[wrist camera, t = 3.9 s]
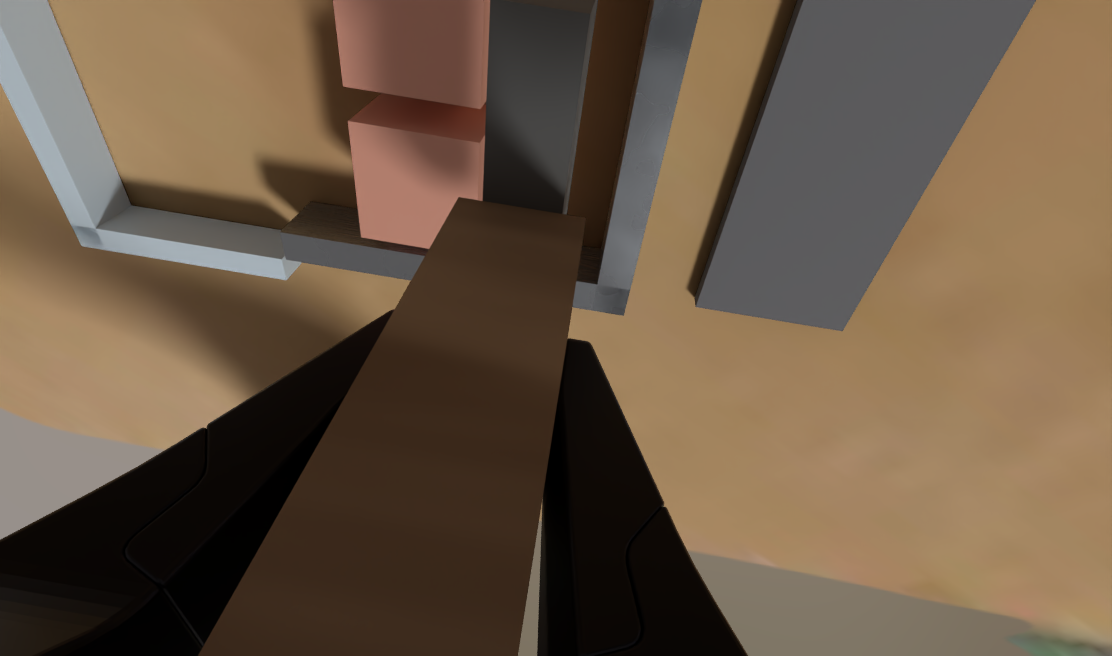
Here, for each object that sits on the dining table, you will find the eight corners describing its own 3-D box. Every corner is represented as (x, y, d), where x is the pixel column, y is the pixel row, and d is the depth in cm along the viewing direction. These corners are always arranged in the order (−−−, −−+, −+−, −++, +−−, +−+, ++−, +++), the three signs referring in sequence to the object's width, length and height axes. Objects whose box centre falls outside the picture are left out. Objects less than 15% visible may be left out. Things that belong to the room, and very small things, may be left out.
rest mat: (838, 321, 23) (842, 330, 23) (694, 298, 23) (695, 306, 23) (1081, -104, 14) (1096, -103, 14) (845, -140, 14) (852, -140, 14)
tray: (309, 254, 24) (286, 280, 22) (117, 222, 24) (81, 245, 23) (202, -292, 14) (147, -312, 12) (-129, -341, 14) (-224, -368, 12)
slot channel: (625, 278, 23) (623, 315, 21) (315, 227, 23) (285, 259, 21) (723, -137, 15) (736, -139, 13) (236, -211, 15) (175, -224, 13)
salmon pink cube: (496, 209, 22) (475, 257, 19) (395, 192, 22) (360, 237, 19) (502, 106, 19) (479, 143, 17) (388, 86, 19) (347, 121, 17)
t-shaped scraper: (561, 354, 16) (472, 906, 7) (479, 340, 16) (294, 873, 7) (624, -8, 10) (545, 579, 2) (494, -29, 10) (-240, 440, 2)
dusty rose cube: (503, 75, 19) (480, 109, 16) (385, 56, 19) (342, 86, 16) (511, -71, 16) (486, -60, 13) (375, -93, 16) (323, -86, 13)
